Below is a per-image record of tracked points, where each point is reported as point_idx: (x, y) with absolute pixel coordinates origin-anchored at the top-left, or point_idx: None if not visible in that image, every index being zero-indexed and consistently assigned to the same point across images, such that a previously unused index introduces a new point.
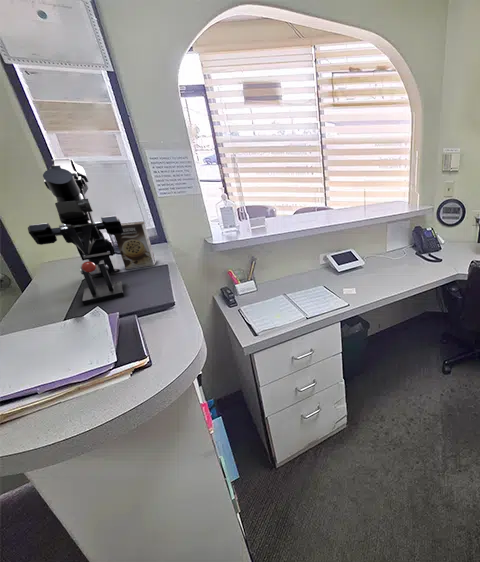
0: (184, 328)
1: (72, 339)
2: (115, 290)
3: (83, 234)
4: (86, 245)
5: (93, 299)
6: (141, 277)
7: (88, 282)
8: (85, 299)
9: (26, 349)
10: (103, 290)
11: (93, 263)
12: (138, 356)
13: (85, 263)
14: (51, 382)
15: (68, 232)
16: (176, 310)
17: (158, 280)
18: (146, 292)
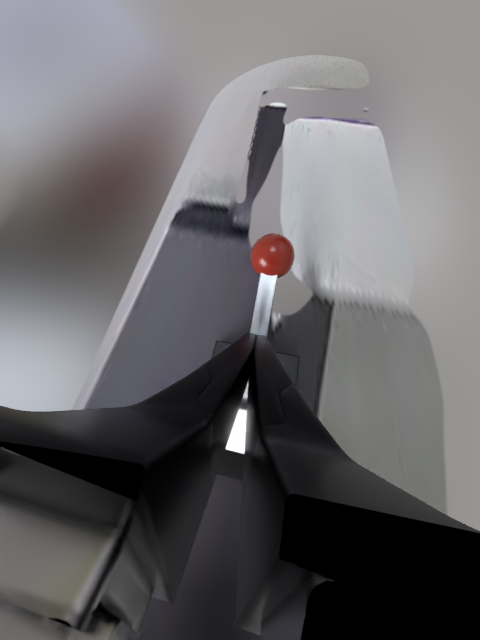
0: (207, 134)
1: (323, 203)
2: None
3: (200, 419)
4: (236, 351)
5: (276, 352)
6: None
7: None
8: (291, 363)
9: (379, 218)
10: None
11: (255, 243)
12: (267, 112)
13: (280, 235)
14: (344, 121)
15: (385, 493)
16: (186, 190)
17: (117, 402)
18: (177, 325)
